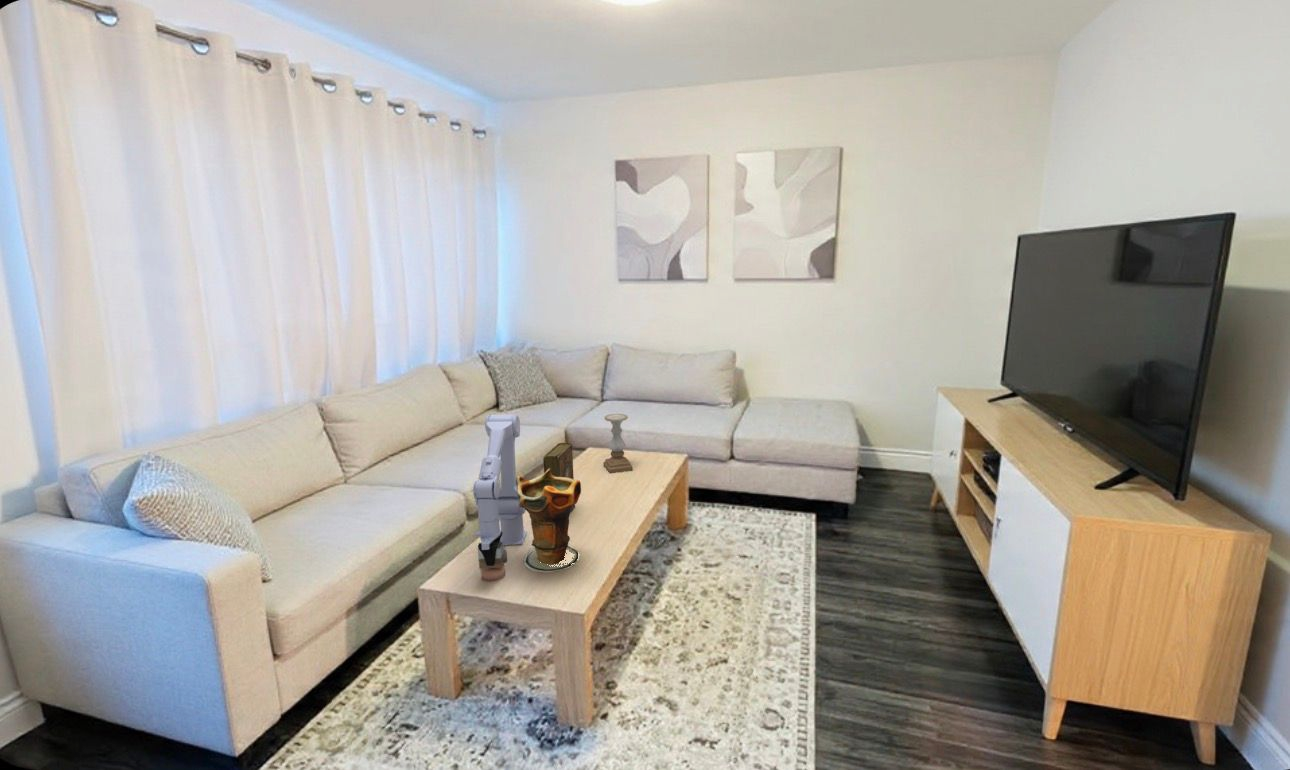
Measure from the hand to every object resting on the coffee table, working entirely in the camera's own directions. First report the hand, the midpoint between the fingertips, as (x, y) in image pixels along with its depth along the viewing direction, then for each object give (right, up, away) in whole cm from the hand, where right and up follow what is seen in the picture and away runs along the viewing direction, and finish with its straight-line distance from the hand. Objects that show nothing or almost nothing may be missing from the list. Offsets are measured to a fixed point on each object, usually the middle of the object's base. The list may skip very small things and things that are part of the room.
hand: (492, 561), depth 179 cm
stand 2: (-1, -3, +10) cm, 10 cm away
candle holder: (+33, +15, +91) cm, 98 cm away
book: (+15, +4, +43) cm, 46 cm away
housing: (0, -1, 0) cm, 1 cm away
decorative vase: (+16, -2, +10) cm, 20 cm away
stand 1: (0, -5, +1) cm, 5 cm away
